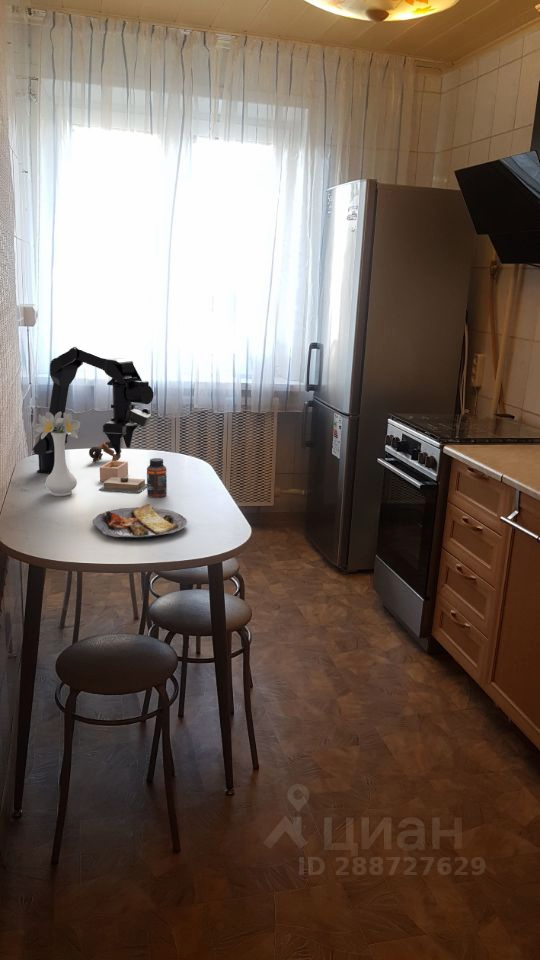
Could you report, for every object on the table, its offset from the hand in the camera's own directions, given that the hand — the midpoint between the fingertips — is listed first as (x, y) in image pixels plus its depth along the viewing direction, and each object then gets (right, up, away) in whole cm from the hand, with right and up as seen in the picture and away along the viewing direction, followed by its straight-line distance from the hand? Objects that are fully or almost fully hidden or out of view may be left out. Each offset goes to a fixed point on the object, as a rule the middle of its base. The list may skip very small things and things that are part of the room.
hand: (123, 450), depth 239 cm
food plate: (+11, -22, -35) cm, 43 cm away
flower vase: (-18, -13, -5) cm, 23 cm away
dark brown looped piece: (-14, -3, +36) cm, 39 cm away
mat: (0, -12, +3) cm, 12 cm away
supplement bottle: (+11, -14, -5) cm, 19 cm away
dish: (-6, -8, +14) cm, 17 cm away
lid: (0, -11, +3) cm, 12 cm away
